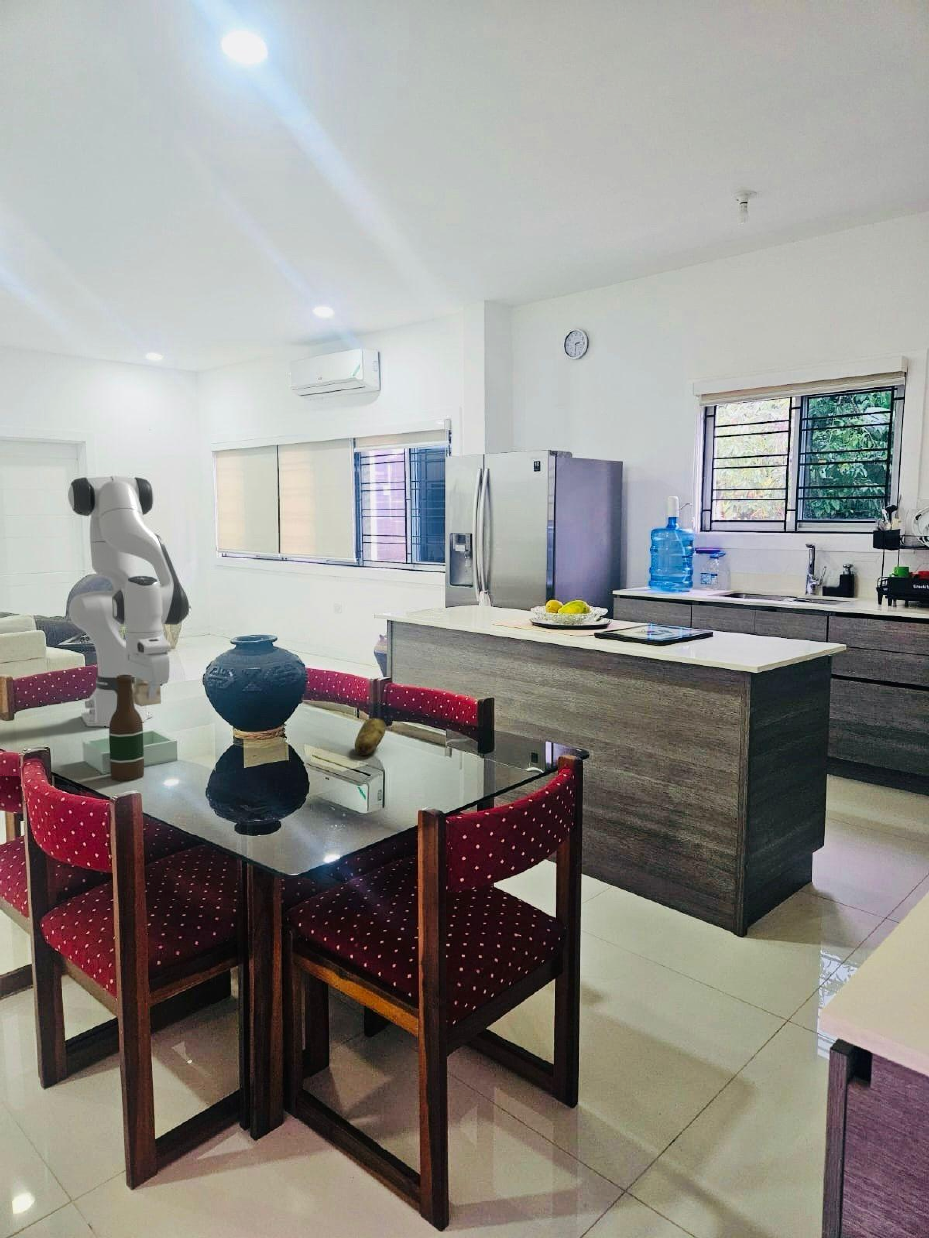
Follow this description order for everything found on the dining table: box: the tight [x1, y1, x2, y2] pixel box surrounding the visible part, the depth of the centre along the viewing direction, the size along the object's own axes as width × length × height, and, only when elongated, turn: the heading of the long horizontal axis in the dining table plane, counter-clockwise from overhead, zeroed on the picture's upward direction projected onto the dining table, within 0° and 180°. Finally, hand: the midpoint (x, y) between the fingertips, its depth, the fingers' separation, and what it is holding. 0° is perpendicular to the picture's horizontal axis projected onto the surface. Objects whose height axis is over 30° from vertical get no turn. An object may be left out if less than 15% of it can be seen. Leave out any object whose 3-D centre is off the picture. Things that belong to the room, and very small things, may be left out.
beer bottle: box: [108, 675, 145, 782], centre depth 189 cm, size 8×8×24 cm
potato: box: [354, 717, 387, 756], centre depth 214 cm, size 8×13×8 cm, turn 151°
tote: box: [82, 729, 178, 775], centre depth 202 cm, size 14×18×5 cm
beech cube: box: [133, 681, 162, 707], centre depth 204 cm, size 5×5×5 cm
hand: (146, 696), depth 204 cm, fingers closed on beech cube, 5 cm apart
